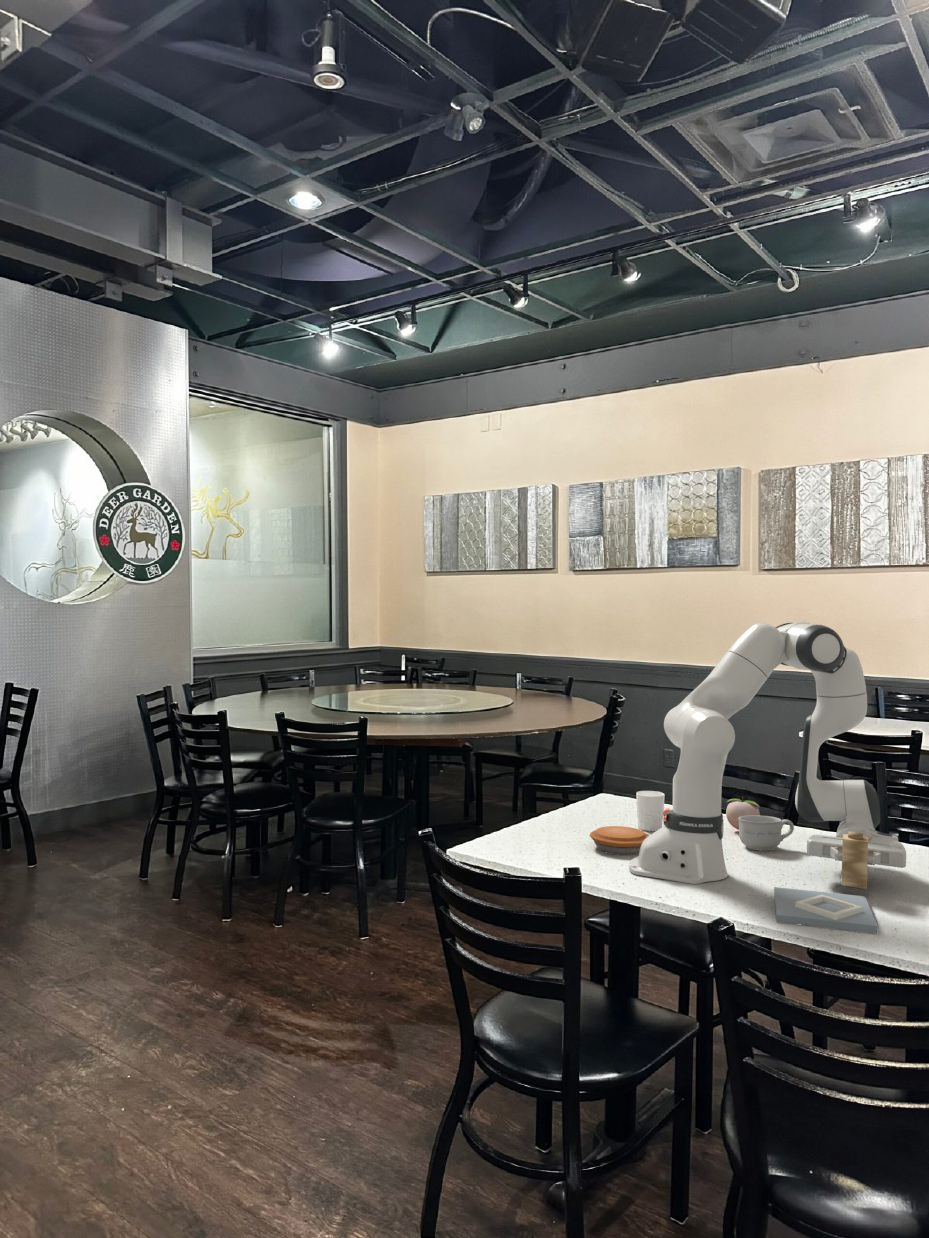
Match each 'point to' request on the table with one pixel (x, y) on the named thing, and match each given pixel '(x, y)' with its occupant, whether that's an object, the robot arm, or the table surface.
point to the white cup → (650, 810)
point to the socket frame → (808, 903)
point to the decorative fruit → (740, 810)
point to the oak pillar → (854, 860)
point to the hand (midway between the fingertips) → (854, 859)
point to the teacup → (762, 831)
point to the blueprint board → (795, 915)
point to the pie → (618, 839)
